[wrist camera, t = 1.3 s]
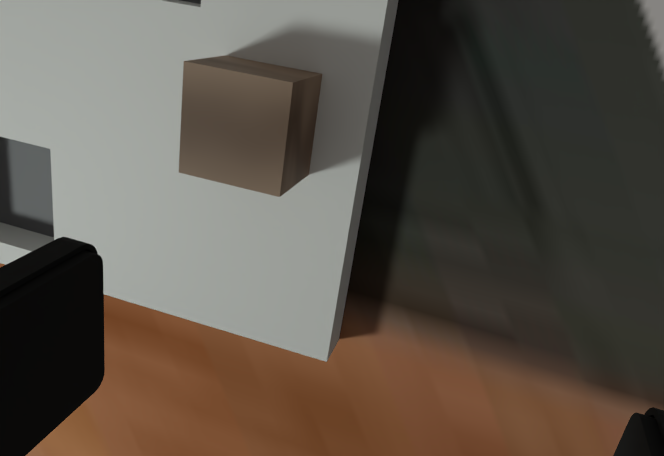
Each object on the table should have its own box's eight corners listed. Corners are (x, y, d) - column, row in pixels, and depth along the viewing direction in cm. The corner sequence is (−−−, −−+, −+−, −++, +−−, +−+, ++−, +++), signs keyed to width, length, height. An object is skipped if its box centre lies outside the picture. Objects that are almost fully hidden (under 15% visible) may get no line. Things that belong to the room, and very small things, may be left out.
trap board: (338, 339, 35) (318, 376, 31) (-62, 221, 41) (-117, 241, 38) (428, -169, 25) (413, -199, 21) (-117, -219, 32) (-199, -250, 28)
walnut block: (308, 174, 29) (279, 197, 26) (218, 153, 30) (178, 172, 27) (322, 73, 27) (293, 82, 24) (225, 55, 28) (183, 61, 25)
